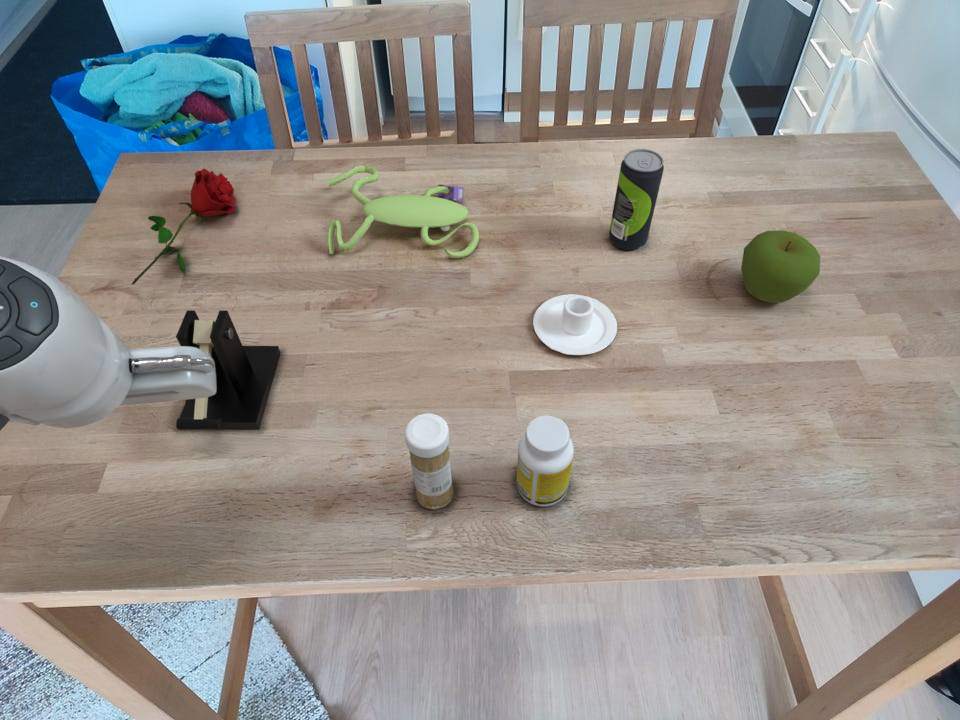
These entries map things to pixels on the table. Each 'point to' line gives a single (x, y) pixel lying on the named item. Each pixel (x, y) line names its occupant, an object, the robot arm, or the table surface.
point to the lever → (200, 421)
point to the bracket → (233, 374)
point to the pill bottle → (544, 461)
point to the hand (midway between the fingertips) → (111, 397)
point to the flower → (197, 208)
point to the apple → (779, 265)
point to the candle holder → (575, 324)
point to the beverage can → (635, 198)
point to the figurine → (407, 212)
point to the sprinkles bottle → (430, 460)
